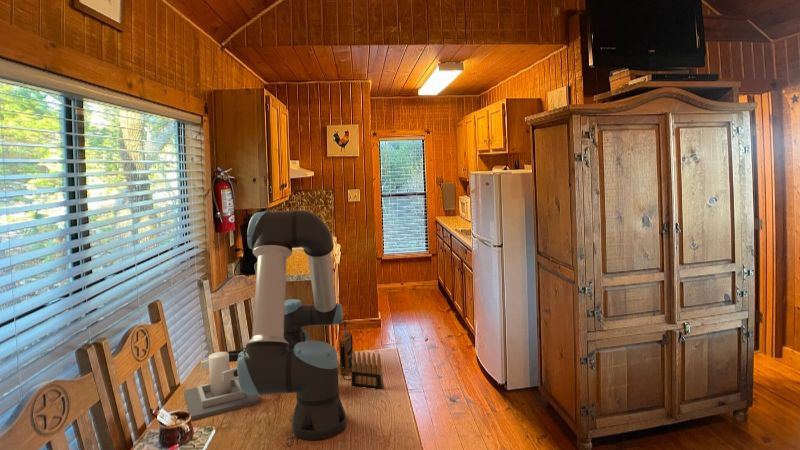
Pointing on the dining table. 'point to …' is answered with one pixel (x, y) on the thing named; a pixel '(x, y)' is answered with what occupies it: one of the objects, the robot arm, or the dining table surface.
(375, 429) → the dining table surface
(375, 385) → the ammunition clip
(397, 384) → the dining table surface
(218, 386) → the plug
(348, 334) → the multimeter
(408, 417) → the dining table surface
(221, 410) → the socket block
